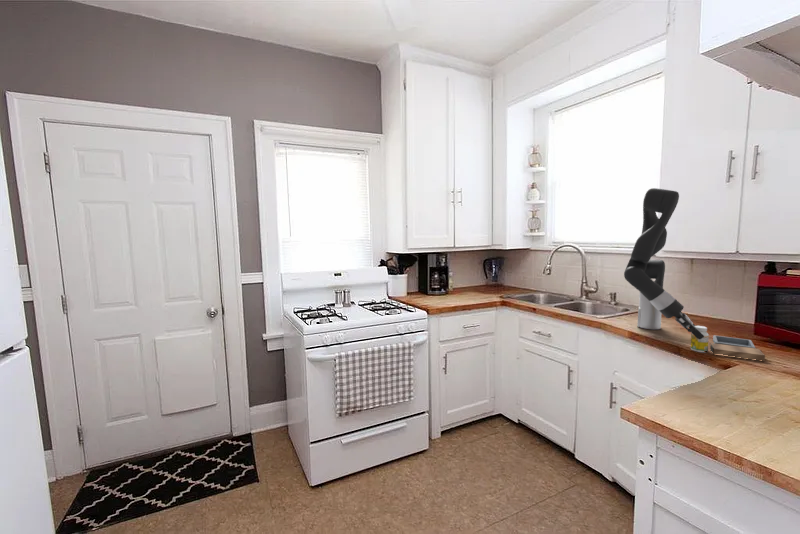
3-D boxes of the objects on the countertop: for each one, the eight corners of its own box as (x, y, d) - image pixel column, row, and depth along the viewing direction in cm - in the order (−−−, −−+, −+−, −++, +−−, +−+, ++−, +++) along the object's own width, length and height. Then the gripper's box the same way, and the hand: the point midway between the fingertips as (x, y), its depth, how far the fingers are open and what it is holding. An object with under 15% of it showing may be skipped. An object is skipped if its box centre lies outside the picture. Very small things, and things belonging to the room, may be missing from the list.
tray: (714, 348, 146) (715, 342, 145) (712, 340, 155) (713, 335, 154) (754, 354, 138) (755, 347, 138) (750, 345, 148) (750, 339, 147)
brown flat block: (713, 355, 138) (713, 348, 138) (709, 348, 145) (709, 342, 145) (764, 361, 131) (765, 355, 130) (758, 355, 137) (758, 348, 137)
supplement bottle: (709, 353, 140) (711, 329, 139) (692, 351, 142) (694, 328, 141) (704, 349, 145) (706, 325, 144) (688, 347, 147) (690, 324, 146)
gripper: (676, 301, 140) (712, 334, 135) (673, 295, 152) (706, 325, 147) (658, 313, 144) (693, 345, 139) (656, 306, 155) (689, 336, 150)
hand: (700, 335), depth 143 cm, fingers open, 8 cm apart
